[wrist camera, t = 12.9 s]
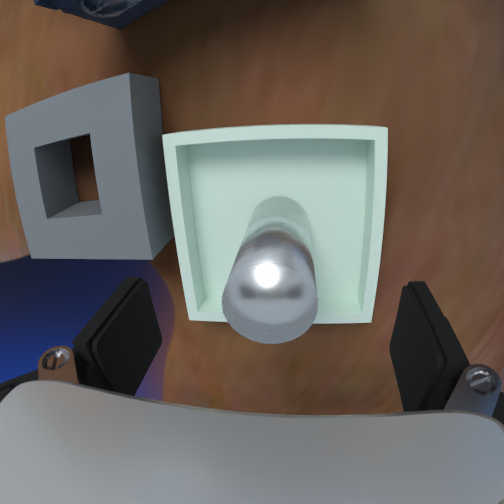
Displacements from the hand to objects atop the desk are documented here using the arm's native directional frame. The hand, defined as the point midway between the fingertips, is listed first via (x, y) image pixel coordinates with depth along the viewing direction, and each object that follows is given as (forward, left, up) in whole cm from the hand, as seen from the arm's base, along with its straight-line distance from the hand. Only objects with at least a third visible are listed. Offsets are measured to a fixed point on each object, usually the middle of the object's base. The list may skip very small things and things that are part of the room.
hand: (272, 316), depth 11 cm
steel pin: (0, +1, -12) cm, 12 cm away
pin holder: (+14, -4, -13) cm, 20 cm away
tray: (0, +1, -13) cm, 13 cm away
